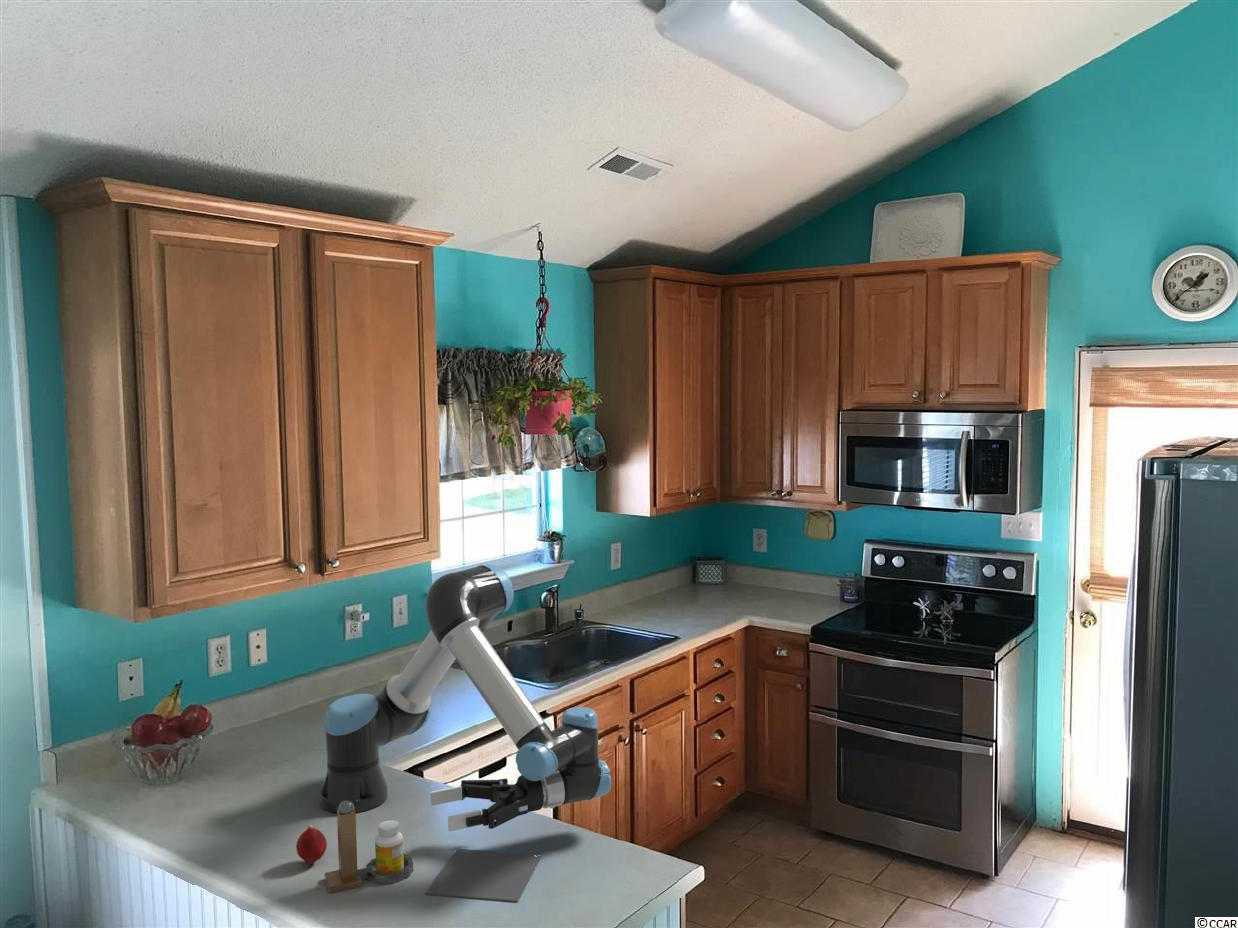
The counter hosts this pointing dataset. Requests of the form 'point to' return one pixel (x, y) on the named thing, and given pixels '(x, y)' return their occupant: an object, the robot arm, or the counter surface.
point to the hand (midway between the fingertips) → (439, 810)
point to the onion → (311, 845)
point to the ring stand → (348, 857)
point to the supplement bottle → (389, 848)
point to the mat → (485, 875)
